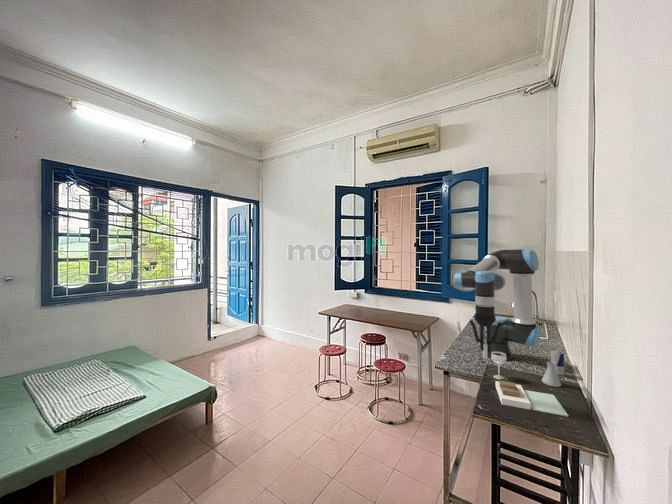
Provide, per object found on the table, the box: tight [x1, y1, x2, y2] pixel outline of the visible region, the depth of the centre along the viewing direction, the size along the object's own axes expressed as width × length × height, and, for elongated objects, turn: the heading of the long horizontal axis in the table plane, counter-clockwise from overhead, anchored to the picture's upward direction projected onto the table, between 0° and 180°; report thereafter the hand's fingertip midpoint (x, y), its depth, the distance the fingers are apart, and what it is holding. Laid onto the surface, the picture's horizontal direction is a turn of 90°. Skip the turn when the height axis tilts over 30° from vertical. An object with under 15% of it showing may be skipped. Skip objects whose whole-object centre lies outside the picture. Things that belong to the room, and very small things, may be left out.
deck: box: [495, 380, 532, 410], centre depth 116 cm, size 16×10×2 cm, turn 157°
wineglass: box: [490, 351, 508, 380], centre depth 134 cm, size 7×7×12 cm
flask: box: [541, 361, 563, 388], centre depth 127 cm, size 7×7×10 cm
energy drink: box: [550, 349, 565, 378], centre depth 136 cm, size 5×5×12 cm
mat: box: [523, 389, 569, 418], centre depth 112 cm, size 16×12×1 cm
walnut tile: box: [498, 380, 520, 398], centre depth 116 cm, size 9×6×2 cm, turn 157°
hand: (485, 357), depth 120 cm, fingers closed
